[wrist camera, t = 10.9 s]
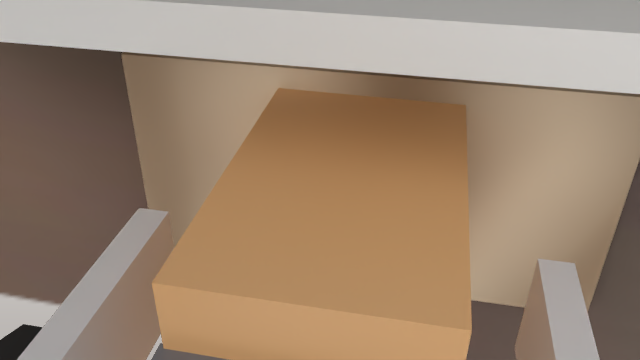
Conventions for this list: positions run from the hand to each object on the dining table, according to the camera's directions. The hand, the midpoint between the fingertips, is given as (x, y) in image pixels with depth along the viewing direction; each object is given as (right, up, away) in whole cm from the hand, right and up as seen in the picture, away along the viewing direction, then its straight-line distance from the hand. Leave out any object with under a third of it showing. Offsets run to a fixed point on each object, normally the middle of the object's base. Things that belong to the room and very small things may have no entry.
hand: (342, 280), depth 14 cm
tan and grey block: (+1, +2, +3) cm, 4 cm away
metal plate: (+1, +2, +4) cm, 4 cm away
